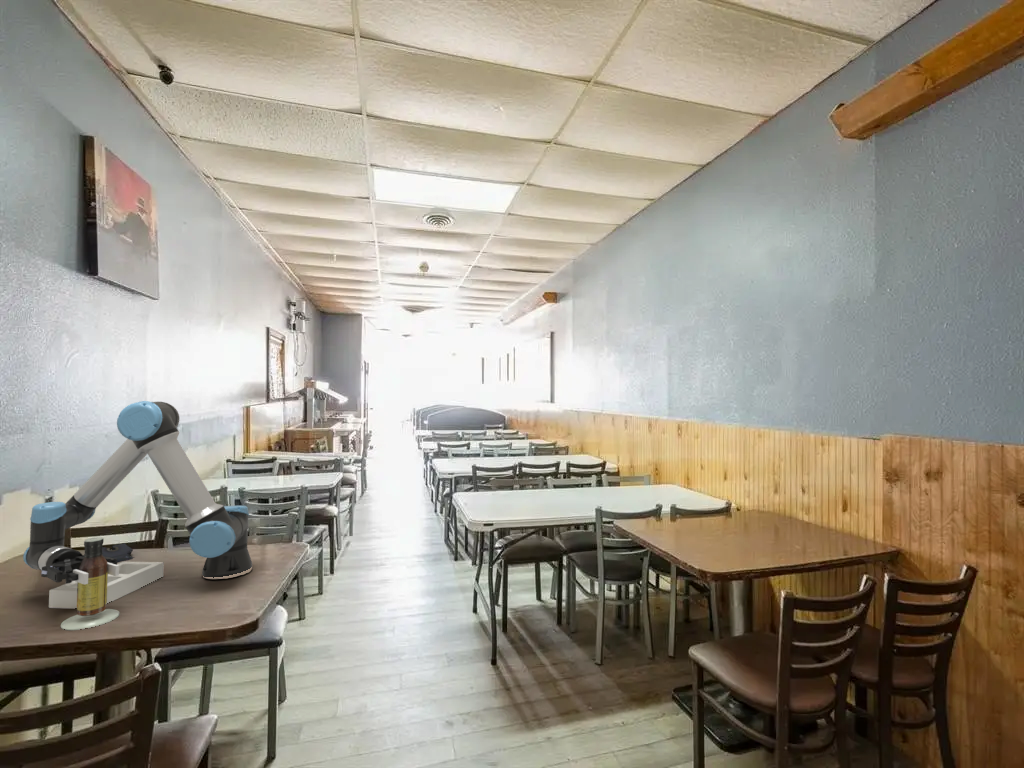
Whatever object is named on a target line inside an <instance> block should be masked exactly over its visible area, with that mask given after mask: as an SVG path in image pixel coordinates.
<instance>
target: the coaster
mask: <svg viewBox="0 0 1024 768" xmlns="http://www.w3.org/2000/svg"><path fill="white" fill-rule="evenodd" d="M119 616H120V611H119V610H117V609H114V608H113V609H112V608H106V609H105V610H104V611H102V612H100V613H97V614H95V615H89V616H79V615H78V614H76V615H73V616H70V617H67V618H66V619H65V620H63V621H62V622H61V624H60V628H61V630H64V629H65V630H64V631H80V629H82V630H86V629H85V628H88V629H92V628H91V627H93V628H94V627H95V626H96V627H100V626H103V625H106V624H109V623H111V622H112V620H113V621H114V620H116V619H117V618H118V617H119ZM105 623H106V624H105ZM99 625H100V626H99ZM96 627H95V628H96Z"/></svg>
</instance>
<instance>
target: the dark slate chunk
mask: <svg viewBox="0 0 1024 768" xmlns="http://www.w3.org/2000/svg"><path fill="white" fill-rule="evenodd" d="M102 552H103V553H102V555H103V556H105V557H110V558H115V559H117V564H119V563H121V562H128V561H130V560H133V559H134V558H136V557H135V556H133V555H132V552H133V548H132V547H130V546H128V545H127V544H126V543H124V542H123V543H118V544H114V545H111V548H110V547H104V546H103V547H102ZM82 555H83V556H84V554H82Z"/></svg>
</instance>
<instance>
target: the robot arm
mask: <svg viewBox="0 0 1024 768" xmlns="http://www.w3.org/2000/svg"><path fill="white" fill-rule="evenodd" d="M179 424H180V414H179V411H178V410H177V408H176V407H175V406H173V405H172V404H170V403H168V402H165V401H148V400H141V401H137V402H133V403H130V404H129V405H126V406H125V407H124V408H123V409H122V410H121V411H120V412H119V415H118V417H117V419H116V427H117V430H118V432H119V433H120V435H121V436H122V437H124V438H125V439H126V440H125V441H124V442H123V443H122V444H121V445H120V446H119V447H118V448H117V449H116V450H115V451H114V453H112V454H111V455H110V457H108V458H107V460H106V461H105V462H104V463H102V465H101V466H100V467H99V468H98V469H97V470H96V471H95V472H94V473H93V474H92V475H91V476H90V477H89V478H88V479H87V481H85V483H83V484H82V485H81V487H80V488H79V489H78V490H77V491H76V492H75V493H74V494H73V495H72V496H71V497H70V498H69V499H68V500H67V501H66V502H63V501H50V502H43V503H38V504H35V505H34V506H32V508H31V514H30V518H29V520H30V524H29V525H30V528H29V529H30V534H29V546H28V547H27V548H26V550H25V551H24V553H23V556H22V557H23V562H24V563H25V565H27V566H28V567H29V568H31V569H33V570H38V571H41V574H40V576H41V578H47V579H49V580H50V581H53V582H54V583H61V582H63V580H65V584H68V583H71V582H72V581H76V582H79V583H81V584H84V585H85V584H88V573H86V572H83V571H80V570H79V567H80V565H81V563H82V561H83V558H84V556H83V555H84V554H83V553H82V552H80V551H79V550H77V549H74V548H71V547H66V546H65V536H66V535H65V533H66V530H68V529H69V528H72V527H74V526H77V525H81V524H83V523H85V522H87V521H88V520H90V519H91V518H93V517H94V515H95V513H96V509H97V508H98V507H99V505H100V504H102V503H103V501H105V499H106V498H107V497H108V496H109V495H110V494H111V493H112V492H113V491H114V490H115V489H116V488H117V487H118V485H120V483H121V482H122V481H124V479H125V478H126V477H127V476H128V475H129V474H130V473H131V472H132V471H133V470H134V469H135V468H136V467H137V466H138V465H139V464H140V463H141V461H143V459H144V458H145V457H146V456H148V457H149V459H150V460H151V462H152V464H153V465H154V466H155V468H156V471H157V472H158V473H159V475H160V476H161V478H162V479H163V481H164V483H165V484H166V486H167V489H168V490H169V492H170V493H171V494H172V496H173V497H174V499H175V501H176V503H177V504H178V506H179V508H180V509H181V511H182V513H183V514H184V516H185V518H186V522H185V523H184V527H185V528H186V530H187V533H188V534H189V540H188V541H189V546H190V549H191V550H192V552H193V553H194V554H195V555H197V556H199V557H202V558H206V560H205V562H204V565H203V567H202V571H201V576H202V575H203V576H204V577H213V578H214V577H223V576H229V575H233V574H237V573H241V572H243V571H246V570H248V569H250V568H251V567H252V568H253V561H252V559H251V555H250V552H249V548H248V535H249V516H250V513H249V508H248V506H247V505H224V504H219V503H216V502H215V500H214V498H213V496H212V495H211V493H210V491H209V490H208V489H207V487H206V485H205V483H204V482H203V480H202V478H201V477H200V474H199V473H198V472H197V470H196V469H195V467H194V464H193V463H192V462H191V460H190V459H189V456H188V455H187V454H186V451H185V450H184V448H183V446H182V444H180V442H179V440H178V437H179V434H180V431H179V429H178V427H179ZM104 557H105V556H104ZM105 559H106V561H107V571H108V574H110V575H113V576H119V565H117V564H118V563H117V559H115V558H110V557H105Z"/></svg>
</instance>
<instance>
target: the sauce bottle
mask: <svg viewBox="0 0 1024 768" xmlns="http://www.w3.org/2000/svg"><path fill="white" fill-rule="evenodd" d="M103 544H104V537H101V536H98V537H90V538H87V539H84V541H83V546H84V554H83V555H84V558H83V561H82V563H81V565H80V567H79V570H80V571H83V572H86V573H88V584H85V585H84V584H81V583H79V582H78V584H77V609H76V613H77V614H76V615H79V616H89V615H95V614H97V613H100V612H102V611H104V610H105V609H107V604H106V603H107V579H108V571H107V561H106V559H105V557H104V556H103V555H102V553H103V552H102V548H103V547H104V546H103Z"/></svg>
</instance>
